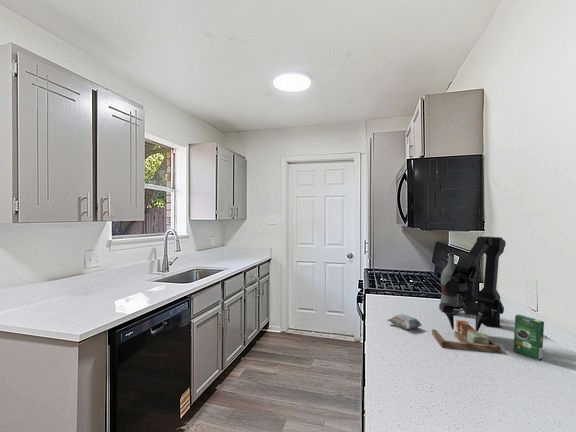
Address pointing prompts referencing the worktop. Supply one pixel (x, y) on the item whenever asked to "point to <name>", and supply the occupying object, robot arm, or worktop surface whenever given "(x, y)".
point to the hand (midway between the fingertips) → (464, 330)
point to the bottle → (444, 279)
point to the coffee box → (528, 336)
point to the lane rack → (466, 343)
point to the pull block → (471, 333)
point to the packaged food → (405, 321)
